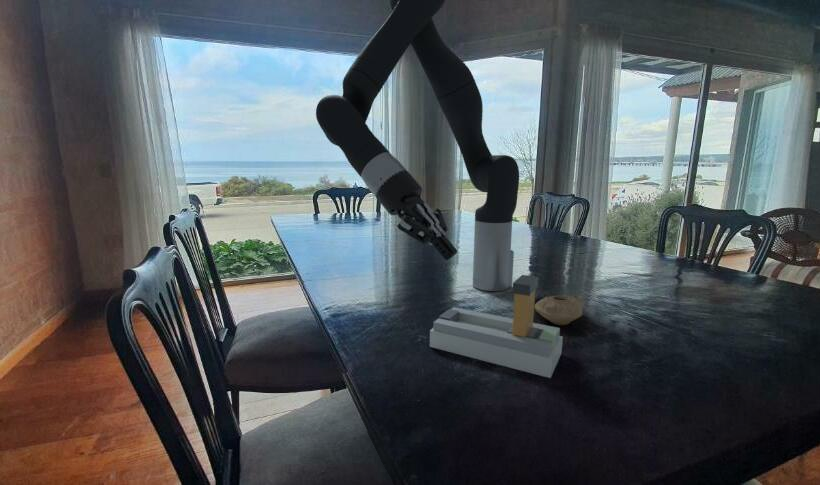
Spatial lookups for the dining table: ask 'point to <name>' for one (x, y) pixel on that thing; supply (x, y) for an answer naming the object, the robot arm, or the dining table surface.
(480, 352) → the base
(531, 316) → the breaker lever
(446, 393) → the dining table surface
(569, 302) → the pottery oil lamp
